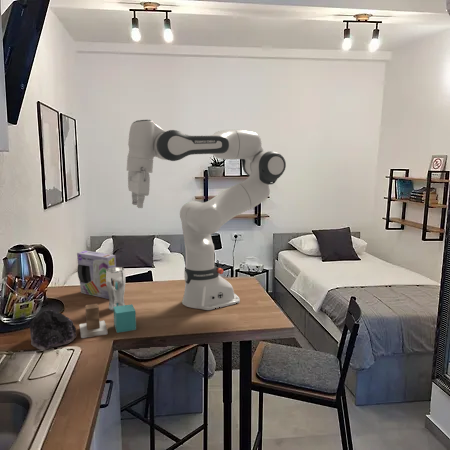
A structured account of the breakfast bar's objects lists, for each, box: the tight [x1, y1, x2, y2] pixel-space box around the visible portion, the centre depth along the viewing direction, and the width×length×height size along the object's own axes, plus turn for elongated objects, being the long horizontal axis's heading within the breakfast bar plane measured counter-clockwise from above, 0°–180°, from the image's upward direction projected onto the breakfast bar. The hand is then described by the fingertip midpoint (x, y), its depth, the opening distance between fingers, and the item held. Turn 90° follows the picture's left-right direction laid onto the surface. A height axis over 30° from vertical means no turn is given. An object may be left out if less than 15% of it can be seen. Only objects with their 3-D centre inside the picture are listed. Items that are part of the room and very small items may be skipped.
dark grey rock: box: [29, 309, 77, 351], centre depth 126 cm, size 13×14×10 cm
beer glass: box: [106, 266, 126, 312], centre depth 152 cm, size 7×7×15 cm
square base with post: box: [79, 303, 108, 339], centre depth 132 cm, size 8×8×8 cm
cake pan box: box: [76, 250, 117, 300], centre depth 166 cm, size 19×5×18 cm, turn 58°
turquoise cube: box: [113, 303, 137, 333], centre depth 135 cm, size 6×6×7 cm
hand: (137, 206), depth 144 cm, fingers open, 8 cm apart
